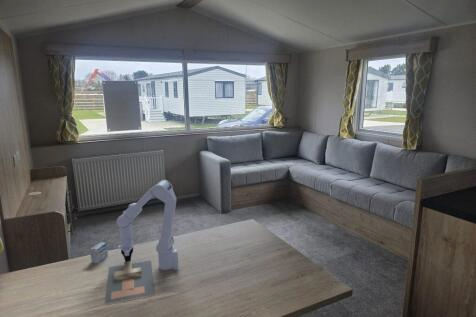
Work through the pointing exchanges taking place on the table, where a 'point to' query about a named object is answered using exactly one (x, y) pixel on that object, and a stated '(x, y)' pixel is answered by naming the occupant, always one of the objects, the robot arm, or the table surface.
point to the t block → (127, 272)
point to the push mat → (130, 283)
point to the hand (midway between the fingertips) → (128, 262)
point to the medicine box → (98, 252)
